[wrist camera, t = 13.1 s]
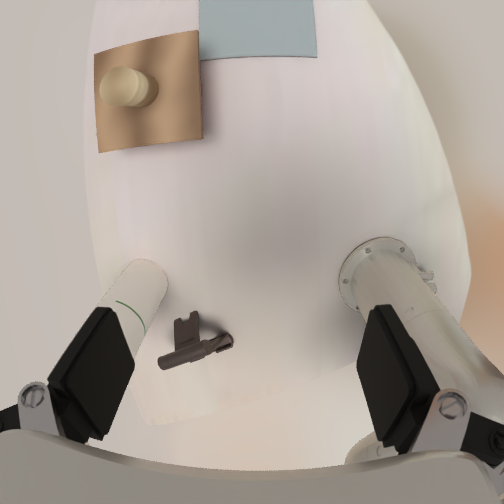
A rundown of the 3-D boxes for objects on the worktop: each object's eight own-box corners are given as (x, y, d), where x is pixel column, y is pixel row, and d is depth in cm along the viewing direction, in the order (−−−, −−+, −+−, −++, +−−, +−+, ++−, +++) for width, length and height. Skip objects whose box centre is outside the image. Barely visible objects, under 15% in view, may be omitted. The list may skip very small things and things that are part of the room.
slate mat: (308, -29, 23) (309, -31, 22) (316, 57, 29) (317, 56, 28) (199, -26, 23) (199, -27, 23) (200, 60, 29) (199, 60, 29)
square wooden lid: (199, 32, 23) (183, 10, 17) (203, 138, 28) (187, 143, 22) (97, 55, 23) (64, 45, 17) (102, 152, 28) (68, 162, 22)
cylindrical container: (121, 258, 41) (27, 379, 18) (164, 259, 41) (86, 399, 18) (129, 298, 44) (58, 422, 21) (170, 301, 44) (114, 440, 21)
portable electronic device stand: (192, 355, 49) (183, 390, 41) (164, 324, 46) (150, 359, 38) (234, 338, 47) (229, 376, 39) (206, 304, 44) (197, 341, 36)
